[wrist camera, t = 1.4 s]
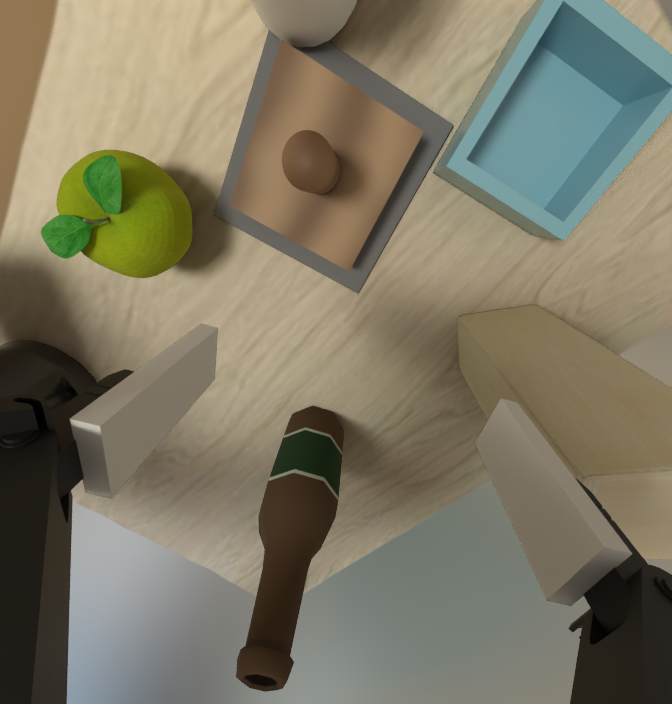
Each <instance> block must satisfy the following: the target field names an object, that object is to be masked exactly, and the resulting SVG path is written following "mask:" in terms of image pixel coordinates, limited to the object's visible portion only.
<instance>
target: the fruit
mask: <svg viewBox="0 0 672 704" xmlns="http://www.w3.org/2000/svg"><path fill="white" fill-rule="evenodd" d="M57 209H58V212H59V214H60V215H59V216H57V217H55V218H53V219H52V220H51V221H49V222H48V223H47V224H46V225H45V226H44V227H43V228H42V230H41V235H42V237H43V239H44V241H45V242H46V244H47V246H48V247H49V249H50V250H51V252H53V253H54V254H56V255H58V256H60V257H62V258H70V257H72V256H74V255H76V254H77V253H78V252H80V251H81V252H82V253H83V254H84V255H86V256H87V257H88V258H90V259H91V260H93V261H94V262H96V263H98V264H100V265H102V266H104V267H106V268H108V269H110V270H112V271H115V272H118V273H120V274H123V275H126V276H130V277H136V278H147V277H152V276H156V275H158V274H160V273H163V272H164V271H166V270H168V269H169V268H171V267H172V266H174V265H175V264H176V263H177V262H178V261H179V260H180V259H181V258H182V257H183V256H184V255H185V253H186V252H187V251H188V249H189V247H190V245H191V241H192V235H193V228H192V210H191V206H190V203H189V201H188V199H187V197H186V195H185V194H184V192H183V191H182V190H181V188H180V187H179V186H178V185H177V183H176V182H175V181H174V180H173V179H172V178H171V177H170V176H169V175H168V174H167V173H166V172H165V171H164V170H163V169H161V168H160V167H159V166H157V165H156V164H154V163H153V162H151V161H149V160H147V159H146V158H144V157H141V156H139V155H136V154H133V153H130V152H126V151H119V150H102V151H97V152H94V153H91V154H89V155H87V156H85V157H84V158H82V159H81V160H79V161H78V162H77V163H76V164H75V165H73V166H72V167H71V168H70V169H69V170H68V172H67V173H66V174H65V175H64V177H63V178H62V181H61V183H60V187H59V191H58V196H57Z"/></svg>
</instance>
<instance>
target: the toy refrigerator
mask: <svg viewBox="0 0 672 704" xmlns="http://www.w3.org/2000/svg"><path fill="white" fill-rule="evenodd" d="M458 356H459V369H460V371H461V373H462V375H463V377H464V379H465V381H466V382H467V384H468V386H469V388H470V390H471V391H472V393H473V395H474V397H475V399H476V401H477V402H478V404H479V406H480V408H481V410H482V412H483V413H484V415H485V417H486V419H487V421H488V420H489V418H490V416H491V415H492V413H493V411H494V410H495V408H496V406H497V404H498V403H499V401H500V399H505V400H509V401H513V402H517V403H518V404H519V405H520V407H521V408H522V409H523V411H524V412H525V413H526V415H527V416H528V417H529V419H530V420H531V421H532V423H533V424H534V425H535V426H536V428H537V429H538V430H539V432H540V433H541V434H542V436H543V437H544V438H545V440H546V441H547V442H548V444H549V445H550V446H551V447H552V449H553V450H554V451H555V453H556V454H557V455H558V457H559V458H560V459H561V461H562V462H563V463H564V465H565V466H566V467H567V469H568V470H569V471H570V472H571V474H572V475H573V476H574V478H576V479H578V480H579V481H580V482H581V483H582V484H583V485H584V486H585V487H586V488H588V489H589V490H590V491H591V492H592V493H593V495H594V496H595V497H596V498H597V500H598V501H599V502H600V504H601V505H602V508H603V509H605V510H606V511H607V512H608V514H609V515H610V516H611V520H613V521H615V523H616V524H617V525H618V527H619V528H620V529H621V530H622V532H623V533H624V534H625V535H626V537H627V538H628V539H629V541H630V542H631V543H632V544H633V546H634V547H635V548H636V550H637V551H638V552H639V553H640V555H641V556H642V557H643V558H644V559H667V558H668V559H669V558H672V388H671V387H669V386H667V385H666V384H664V383H663V382H661V381H660V380H658V379H656V378H655V377H653V376H651V375H650V374H648V373H646V372H645V371H643V370H642V369H640V368H638V367H637V366H635V365H633V364H632V363H630V362H629V361H627V360H625V359H624V358H622V357H620V356H619V355H617V354H616V353H614V352H613V351H611V350H609V349H608V348H606V347H604V346H603V345H601V344H600V343H598V342H596V341H595V340H593V339H591V338H590V337H588V336H586V335H585V334H583V333H582V332H580V331H578V330H576V329H575V328H573V327H572V326H570V325H569V324H567V323H565V322H564V321H562V320H561V319H559V318H557V317H556V316H554V315H552V314H551V313H549V312H547V311H546V310H544V309H543V308H541V307H539V306H537V305H528V306H521V307H514V308H507V309H501V310H494V311H487V312H480V313H473V314H467V315H462V316H459V317H458Z"/></svg>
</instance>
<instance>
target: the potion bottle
mask: <svg viewBox="0 0 672 704" xmlns="http://www.w3.org/2000/svg"><path fill="white" fill-rule="evenodd" d="M251 2H252V4H253V6H254V8H255V10H256V11H257V13H258V15H259V16H260V18H261V20H262V21H263V23H264V25H265V26H266V27H267V28H268V29H269V30H270V31H271V32H272V33H274V34H275V35H276V36H277V37H278V38H279V39H280V40H283V41H285V42H287V43H289V44H291V45H293V46H296V47H315V46H317V45H320V44H322V43H324V42H326V41H328V40H331V39H332V38H333V37H334V36H335V35H336V34H337V33H338V32H339V31H340V30H341V29H342V28H343V27H344V26H345V24H346V22H347V20H348V19H349V17H350V15H351V13H352V11H353V9H354V8H355V6H356V2H357V0H251Z"/></svg>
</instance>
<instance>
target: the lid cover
mask: <svg viewBox="0 0 672 704" xmlns="http://www.w3.org/2000/svg"><path fill="white" fill-rule="evenodd" d="M423 133H424V131H422V130H421V129H419V128H418V127H416V126H415V125H413V124H412V123H410V122H408V121H407V120H405V119H404V118H402V117H401V116H399V115H398V114H396V113H395V112H393V111H391V110H390V109H388V108H387V107H385V106H384V105H382V104H381V103H379V102H378V101H376V100H374V99H373V98H371V97H370V96H368V95H367V94H365V93H364V92H362V91H361V90H359V89H358V88H356V87H354V86H353V85H351V84H350V83H348V82H347V81H345V80H344V79H342V78H341V77H339V76H337V75H336V74H334V73H333V72H331V71H330V70H328V69H327V68H325V67H324V66H322V65H320V64H319V63H317V62H316V61H314V60H313V59H311V58H310V57H308V56H307V55H305V54H304V53H302V52H300V51H299V50H297V49H296V48H294V47H293V46H291V45H290V44H288V43H287V42H285V41H283V40H281V43H280V46H279V49H278V53H277V56H276V59H275V62H274V65H273V68H272V72H271V75H270V78H269V81H268V84H267V87H266V91H265V94H264V97H263V100H262V103H261V106H260V110H259V113H258V116H257V119H256V122H255V125H254V129H253V132H252V135H251V138H250V141H249V145H248V148H247V151H246V154H245V157H244V160H243V164H242V167H241V170H240V173H239V176H238V179H237V183H236V186H235V189H234V192H233V195H232V198H231V202H230V205H229V206H231V207H233V208H234V209H236V210H238V211H240V212H242V213H243V214H245V215H247V216H249V217H251V218H253V219H254V220H256V221H258V222H260V223H262V224H263V225H265V226H267V227H269V228H271V229H273V230H274V231H276V232H278V233H280V234H282V235H283V236H285V237H287V238H289V239H291V240H292V241H294V242H296V243H298V244H300V245H302V246H303V247H305V248H307V249H309V250H311V251H312V252H314V253H316V254H318V255H320V256H322V257H323V258H325V259H327V260H329V261H331V262H332V263H334V264H336V265H338V266H340V267H342V268H343V269H345V270H347V271H350V269H351V267H352V265H353V263H354V262H355V260H356V258H357V256H358V254H359V252H360V250H361V249H362V247H363V245H364V243H365V241H366V239H367V237H368V235H369V234H370V232H371V230H372V228H373V226H374V224H375V222H376V221H377V219H378V217H379V215H380V213H381V211H382V209H383V207H384V206H385V204H386V202H387V200H388V198H389V196H390V194H391V193H392V191H393V189H394V187H395V185H396V183H397V181H398V180H399V178H400V176H401V174H402V172H403V170H404V168H405V166H406V165H407V163H408V161H409V159H410V157H411V155H412V153H413V152H414V150H415V148H416V146H417V144H418V142H419V140H420V138H421V137H422V135H423Z"/></svg>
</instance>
